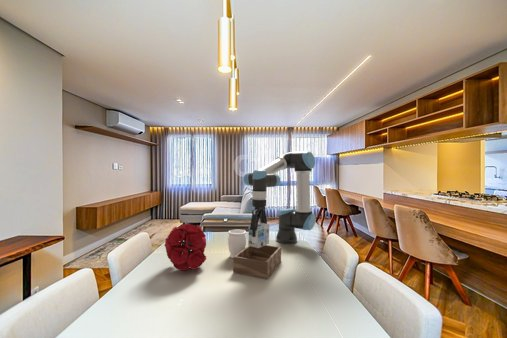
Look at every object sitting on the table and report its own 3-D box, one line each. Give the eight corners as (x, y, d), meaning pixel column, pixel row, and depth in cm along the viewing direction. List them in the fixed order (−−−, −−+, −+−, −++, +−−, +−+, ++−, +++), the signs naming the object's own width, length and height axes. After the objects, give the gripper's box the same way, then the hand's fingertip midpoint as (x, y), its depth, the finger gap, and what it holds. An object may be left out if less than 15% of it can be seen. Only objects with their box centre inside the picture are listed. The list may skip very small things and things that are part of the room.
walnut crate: (251, 256, 140) (252, 242, 140) (281, 261, 133) (281, 247, 133) (233, 272, 118) (233, 256, 118) (267, 279, 111) (267, 262, 111)
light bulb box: (258, 248, 119) (258, 227, 119) (247, 246, 123) (247, 225, 123) (269, 243, 128) (269, 223, 128) (259, 241, 132) (259, 221, 132)
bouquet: (170, 271, 133) (153, 264, 107) (179, 230, 145) (166, 214, 119) (208, 274, 133) (200, 268, 107) (214, 233, 145) (208, 218, 119)
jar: (246, 253, 144) (247, 229, 144) (244, 260, 134) (244, 234, 134) (229, 253, 145) (230, 228, 145) (226, 259, 135) (226, 233, 135)
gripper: (260, 196, 138) (260, 233, 138) (243, 201, 116) (242, 245, 116) (272, 197, 135) (272, 234, 135) (257, 202, 113) (257, 247, 113)
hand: (258, 239), depth 125 cm, fingers closed on light bulb box, 11 cm apart
